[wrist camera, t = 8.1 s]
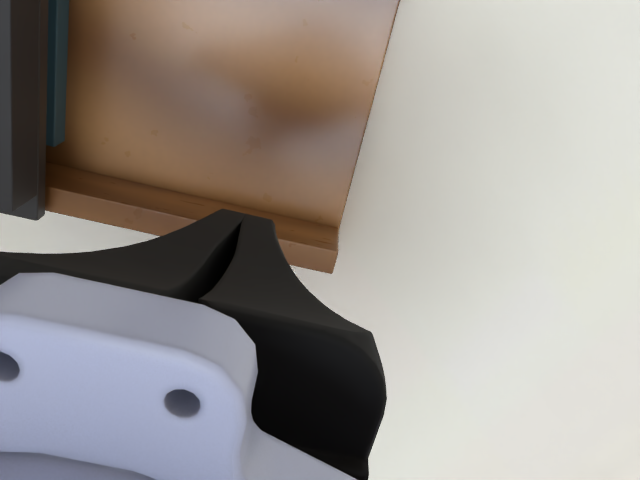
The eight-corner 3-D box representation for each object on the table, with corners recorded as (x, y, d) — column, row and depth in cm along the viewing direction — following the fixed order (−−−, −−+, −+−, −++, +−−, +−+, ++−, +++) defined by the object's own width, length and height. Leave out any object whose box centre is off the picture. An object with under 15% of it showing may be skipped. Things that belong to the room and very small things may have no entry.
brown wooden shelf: (333, 241, 24) (332, 274, 21) (-197, 121, 22) (-271, 141, 20) (408, -41, 19) (419, -44, 16) (-254, -211, 18) (-361, -246, 15)
